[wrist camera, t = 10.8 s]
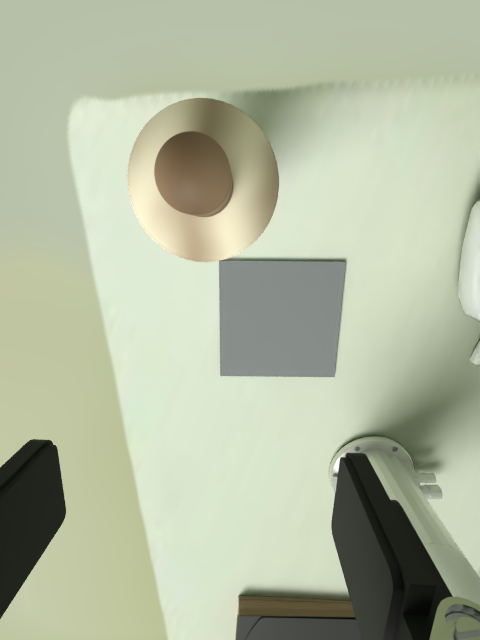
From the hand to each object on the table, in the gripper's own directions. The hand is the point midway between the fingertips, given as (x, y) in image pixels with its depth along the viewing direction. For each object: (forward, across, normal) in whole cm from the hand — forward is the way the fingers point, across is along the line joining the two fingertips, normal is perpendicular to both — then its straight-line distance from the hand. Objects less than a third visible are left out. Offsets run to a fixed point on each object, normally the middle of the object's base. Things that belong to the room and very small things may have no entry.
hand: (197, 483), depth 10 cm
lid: (+17, +2, -11) cm, 21 cm away
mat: (+32, -6, +3) cm, 33 cm away
